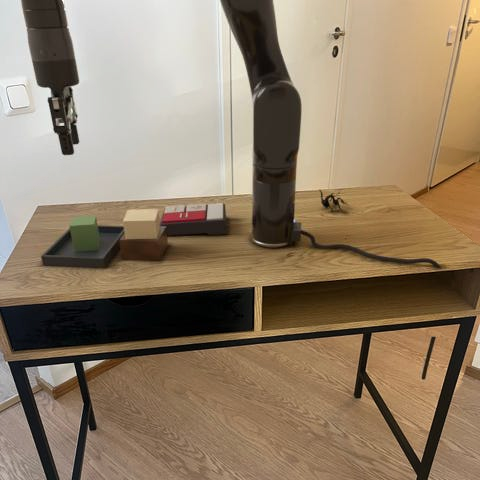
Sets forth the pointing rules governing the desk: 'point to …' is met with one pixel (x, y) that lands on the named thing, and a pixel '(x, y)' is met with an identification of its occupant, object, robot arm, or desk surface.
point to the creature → (326, 201)
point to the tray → (66, 256)
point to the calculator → (195, 219)
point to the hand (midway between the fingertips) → (71, 149)
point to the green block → (85, 233)
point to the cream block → (142, 224)
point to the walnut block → (144, 247)
